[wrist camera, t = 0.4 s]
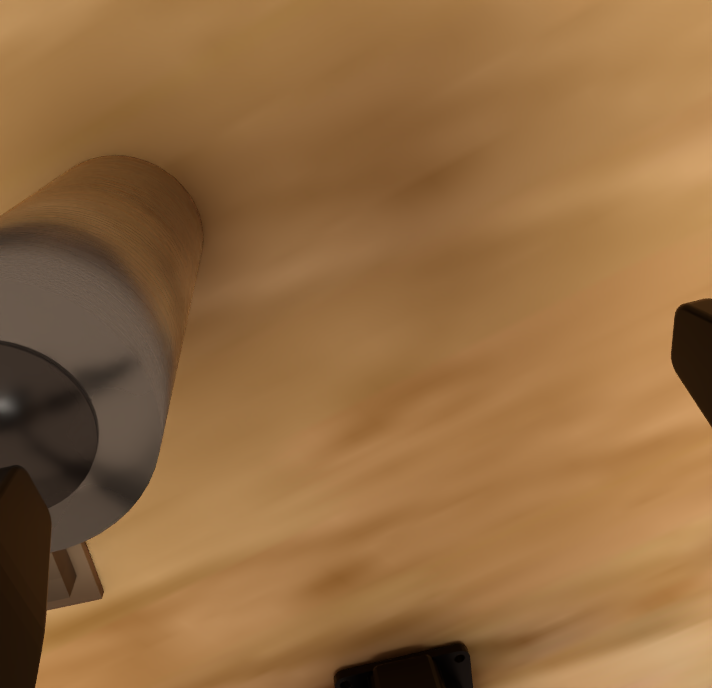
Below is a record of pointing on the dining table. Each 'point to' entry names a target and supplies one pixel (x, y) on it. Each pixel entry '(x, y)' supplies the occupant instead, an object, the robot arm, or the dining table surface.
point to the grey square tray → (72, 578)
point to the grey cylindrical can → (93, 334)
